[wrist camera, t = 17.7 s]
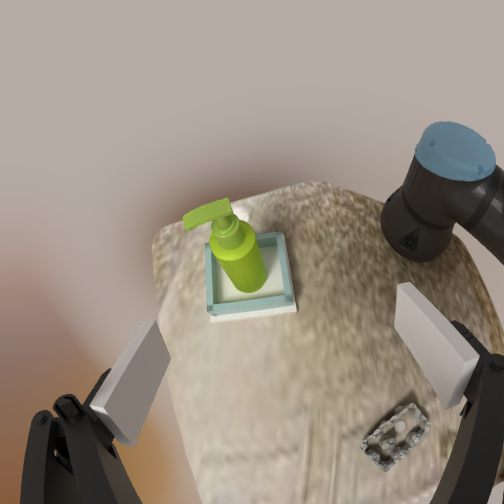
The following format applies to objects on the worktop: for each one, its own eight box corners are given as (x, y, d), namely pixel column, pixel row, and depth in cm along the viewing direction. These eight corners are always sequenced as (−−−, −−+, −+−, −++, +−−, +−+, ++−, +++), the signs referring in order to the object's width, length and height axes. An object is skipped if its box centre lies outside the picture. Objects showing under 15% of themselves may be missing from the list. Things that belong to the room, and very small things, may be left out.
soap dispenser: (222, 269, 47) (178, 200, 30) (260, 255, 47) (236, 178, 30) (231, 300, 45) (186, 243, 27) (271, 286, 45) (252, 219, 27)
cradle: (284, 237, 50) (283, 225, 46) (296, 312, 43) (296, 306, 40) (209, 249, 51) (202, 238, 47) (212, 323, 45) (204, 318, 41)
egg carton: (404, 397, 34) (414, 398, 30) (426, 425, 31) (437, 428, 27) (353, 441, 33) (359, 446, 29) (377, 468, 29) (385, 476, 26)
